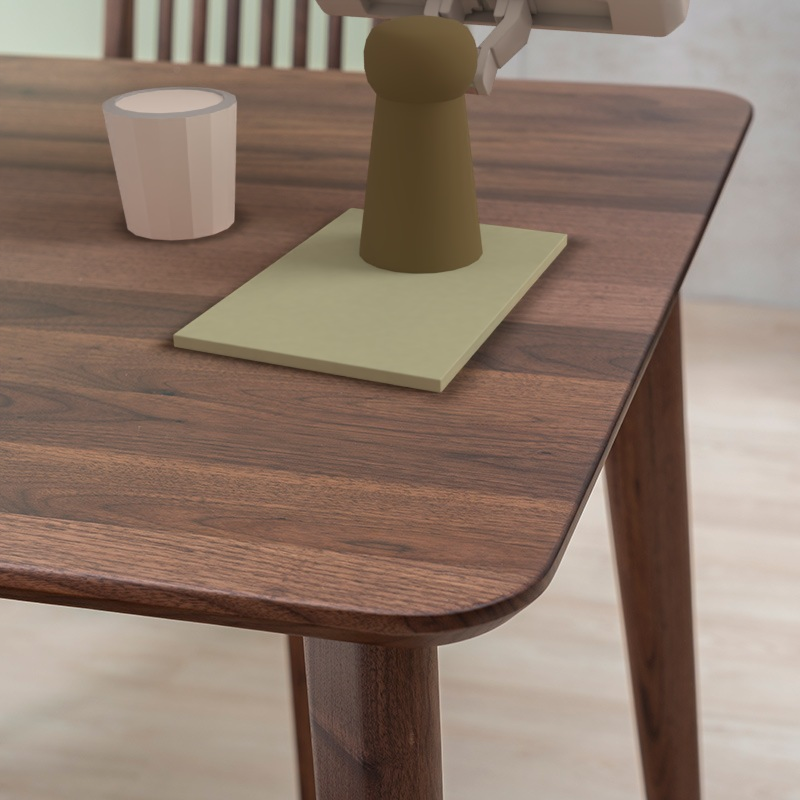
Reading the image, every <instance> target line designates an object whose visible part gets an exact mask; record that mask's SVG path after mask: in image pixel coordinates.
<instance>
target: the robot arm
mask: <svg viewBox="0 0 800 800" xmlns="http://www.w3.org/2000/svg"><path fill="white" fill-rule="evenodd" d="M315 2H316V4H317V5H318V7H319V8H320V10H322V12H323V13H324V14H325V15H327V16H335V17H349V18H350V17H351V18H363V19H364V18H365V19H381V20H391V19H395V18H399V17H405V16H416V15H425V16H437V17H443V18H447V19H452V20H456V21H458V22H460V23H462V24H464V25H471V26H483V27H484V26H485V27H486V26H487V27H494V28H493V29H492V30H491V32H490V33H488V35H487V36H486V38H484V39H483V40H482V42H481V43H480V44H479V45H478V47H477V46H476V47H477V52H478V64H477V70H476V74H475V78H474V80H473V82H472V83H471V85H470V86H469V88H468V89H467V91H466V92H465V95H473V96H485V97H489V96H490V95H491V94H492V91H493V88H494V87H493V86H494V84H495V80H496V77H497V73H498V70H500V69H502V68H503V67H504V66H505V65H506V64H507V63H508V62H509V61H511V59H512V58H513V57H514V56H516V55H517V54H518V53H519V52H520V51H521V50H522V49H523V48H524V47H525V46H526V45H527V44H528V41H529V38H530V35H531V30H532V29H533V30H547V31H559V32H560V31H563V32H574V33H575V32H576V33H577V32H578V33H590V34H608V35H621V36H622V35H623V36H637V37H649V38H650V37H652V38H665V37H668V36H669V35H670V34H672V33H673V32H674V31H675V30H676V29H678V28H679V27H680V26H681V25H682V24H684V22H685V21H686V19H687V16H688V13H689V7H690V3H691V0H315Z"/></svg>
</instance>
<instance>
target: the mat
mask: <svg viewBox="0 0 800 800" xmlns="http://www.w3.org/2000/svg"><path fill="white" fill-rule="evenodd" d="M363 212H364V208H363V209H362V208H354V207H350V208H349V209H347V210H345V211H344V212H343V213H342V214H340V215H339V216H337V217H336V218H335V219H333V220H332V221H331V222H329V223H328V224H326V225H325V226H323V227H322V228H321V229H319V230H318V231H316V232H315V233H313V234H312V235H311V236H309V237H308V238H307V239H305V240H304V241H302V242H301V243H299V244H298V245H297V246H295V247H294V248H292V249H291V250H290V251H289V252H287V253H285V254H284V255H282V256H281V257H280V258H278V259H277V260H276V261H275V262H273V263H272V264H270V265H268V266H267V267H266V268H265V269H263V270H262V271H260V272H258V274H256V275H255V276H253V277H252V278H250V279H249V280H248V281H246V282H245V283H243V284H242V285H240V286H239V287H238V288H236V289H235V290H234V291H232V292H231V293H230V294H228V295H227V296H225V297H224V298H223V299H221V300H219V301H218V302H216V303H215V304H214V305H213V306H212V307H210V308H208V309H207V310H206V311H205V312H203V313H202V314H200V315H199V316H197V317H196V318H194V319H193V320H192V321H190V322H189V323H187V324H186V325H185V326H183V327H182V328H181V329H179V330H178V331H176V332H175V333H173V334H172V337H173V347H175V348H179V349H186V350H191V351H196V352H203V353H208V354H214V355H220V356H225V357H230V358H231V357H232V358H237V359H242V360H243V359H244V360H249V361H253V362H254V361H255V362H261V363H265V364H272V365H278V366H283V367H288V368H289V367H290V368H295V369H301V370H306V371H311V372H318V373H323V374H330V375H335V376H342V377H347V378H353V379H359V380H364V381H370V382H374V383H375V382H376V383H380V384H381V383H382V384H386V385H387V384H388V385H393V386H397V387H398V386H399V387H405V388H410V389H416V390H422V391H427V392H433V393H439V394H440V393H442V392H443V391H444V390H445V389H446V387H448V385H449V384H450V383H451V381H452V380H453V379H454V378H455V377H456V375H457V374H458V373H459V372H460V371H461V370H462V369H463V368H464V366H465V365H466V364H467V363H468V361H470V359H471V358H472V356H474V355H475V353H476V352H477V351H478V350H479V348H480V347H481V346H482V345H483V344H484V343H485V342H486V341H487V339H489V337H490V336H491V335H492V333H494V331H495V330H496V328H497V327H498V326H499V325H500V324H501V322H503V321H504V320H505V318H506V317H507V315H508V314H509V313H510V312H511V311H512V310H513V309H514V307H516V305H517V304H518V303H519V302H520V301H521V300H522V298H523V297H524V296H525V295H526V293H527V292H529V290H530V289H531V288H532V286H533V285H534V284H535V283H536V282H537V280H539V278H540V277H541V276H542V274H543V273H544V272H545V271H546V270H547V269H548V268H549V267H550V265H551V264H552V263H553V262H554V261H555V260H556V258H557V257H558V256H559V255H560V253H561V252H562V251H563V250H564V249H565V248H566V246H567V245H568V234H567V233H562V232H553V231H544V230H536V229H529V228H528V229H527V228H519V227H511V226H503V225H495V224H488V223H487V224H486V223H479V224H480V233H481V241H482V250H483V254H482V255H481V257H480V258H479V260H477V261H476V262H474V263H472V264H471V265H469V266H466V267H463V268H459V269H456V270H452V271H445V272H438V273H416V274H413V273H403V272H394V271H389V270H385V269H381V268H377V267H375V266H373V265H371V264H368V263H366V262H365V261H364V260H363V259H362V258H361V257H360V255H359V248H360V239H361V230H362V221H363Z"/></svg>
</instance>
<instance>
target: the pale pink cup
mask: <svg viewBox="0 0 800 800" xmlns="http://www.w3.org/2000/svg"><path fill="white" fill-rule="evenodd" d="M101 110H102V114H103V118H104V122H105V128H106V133H107V137H108V142H109V147H110V152H111V156H112V161H113V164H114V165H113V167H114V170H115V175H116V180H117V185H118V190H119V194H120V199H121V204H122V208H123V213H124V219H125V223H126V228H127V230H128V231H129V232H131V233H132V234H133V235H135V236H137V237H141V238H145V239H150V240H159V241H161V240H162V241H182V240H195V239H200V238H204V237H209V236H214V235H216V234H218V233H221V232H223V231H226V230H228V229H229V228H230V227H231V226H232V225H233V224H234V223H235V213H236V212H235V211H236V209H235V208H236V207H235V205H236V169H237V168H236V166H237V165H236V164H237V117H238V116H237V113H238V100H237V97H236V95H235V94H232V93H230V92H228V91H226V90H222V89H216V88H210V87H204V86H203V87H201V86H200V87H199V86H167V87H165V86H164V87H153V88H152V87H151V88H146V89H145V88H144V89H139V90H132V91H128V92H124V93H121V94H118V95H113V96H112V97H110V98H108V99H107V100H105V101H103V102H102V109H101Z"/></svg>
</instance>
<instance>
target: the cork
mask: <svg viewBox="0 0 800 800" xmlns="http://www.w3.org/2000/svg"><path fill="white" fill-rule="evenodd" d="M477 64H478V52H477V43H476V39H475V38H474V35H473V33H472V32H471V30H470V29H469V27H468V26H466V24H462V23H460V22H458V21H456V20H452V19H447V18H443V17H437V16H425V15H416V16H405V17H399V18H395V19H386V20H383V21H382V22H380V23H378V24H377V25H375V26H373V27H372V28H371V30H370V32H369V33H368V35H367V37H366V39H365V43H364V48H363V70H364V73H365V77H366V81H367V83H368V84H369V86H370V88H371V89H372V90H373V91H374V93H375V104H374V112H373V122H372V123H373V124H372V131H371V141H370V148H369V156H368V157H369V158H368V168H367V177H366V185H365V194H364V203H363V209H364V212H363V221H362V230H361V239H360V248H359V255H360V257H361V258H362V259H363V260H364V261H365V262H366V263H368V264H371V265H373V266H375V267H377V268H381V269H385V270H389V271H394V272H403V273H413V274H416V273H438V272H445V271H452V270H456V269H459V268H463V267H466V266H469V265H471V264H472V263H474V262H476V261H477V260H479V258H480V257H481V255H482V254H483V250H482V241H481V233H480V224H481V223H480V217H479V208H478V207H479V206H478V199H477V191H476V190H477V189H476V181H475V173H474V164H473V154H472V147H471V138H470V130H469V129H470V128H469V120H468V111H467V110H468V109H467V103H466V94H465V92H466V91H467V89H468V88H469V86H470V85H471V83H472V82H473V80H474V78H475V74H476V70H477Z"/></svg>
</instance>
